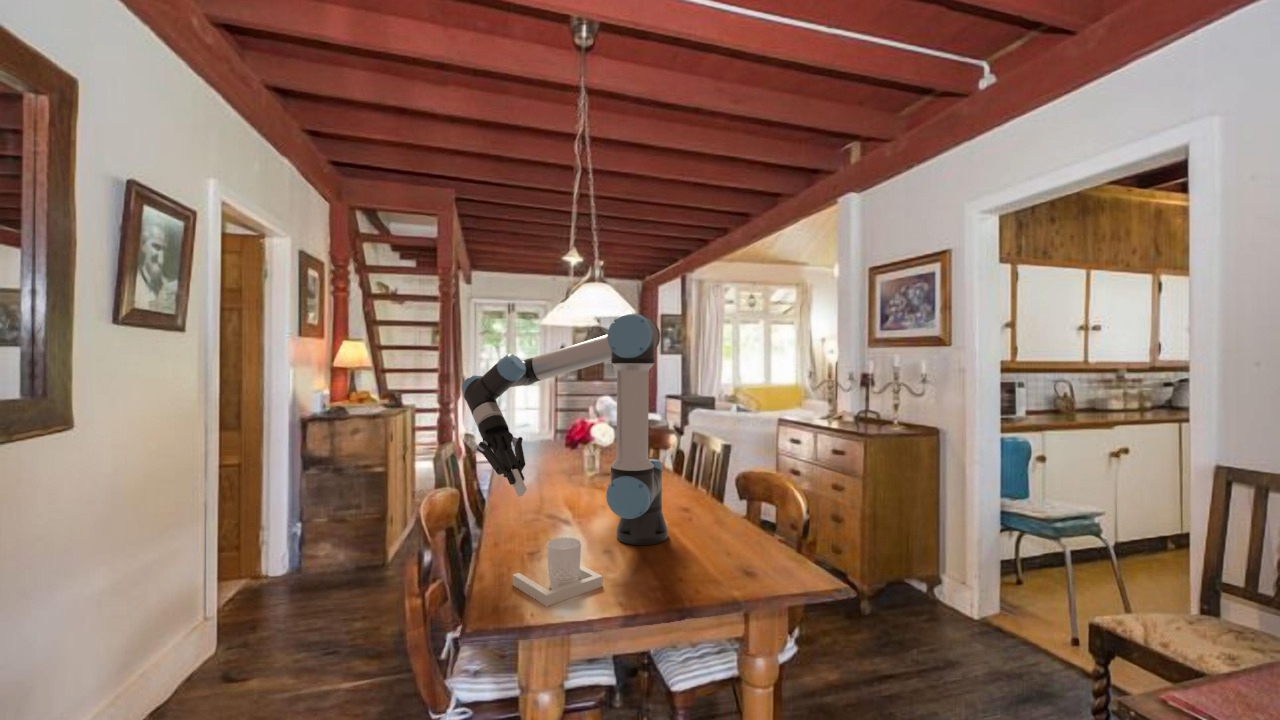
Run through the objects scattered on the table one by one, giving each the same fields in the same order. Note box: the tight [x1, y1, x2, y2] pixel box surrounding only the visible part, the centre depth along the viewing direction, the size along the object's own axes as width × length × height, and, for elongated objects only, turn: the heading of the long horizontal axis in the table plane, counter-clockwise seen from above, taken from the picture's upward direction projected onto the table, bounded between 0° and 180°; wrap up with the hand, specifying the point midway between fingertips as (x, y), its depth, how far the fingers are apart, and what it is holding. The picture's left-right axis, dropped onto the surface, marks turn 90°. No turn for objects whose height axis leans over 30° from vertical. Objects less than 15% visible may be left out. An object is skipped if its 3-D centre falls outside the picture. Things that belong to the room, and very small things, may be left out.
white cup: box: [546, 536, 582, 590], centre depth 127 cm, size 8×8×10 cm
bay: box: [512, 564, 604, 607], centre depth 127 cm, size 15×15×2 cm
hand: (522, 492), depth 139 cm, fingers closed
